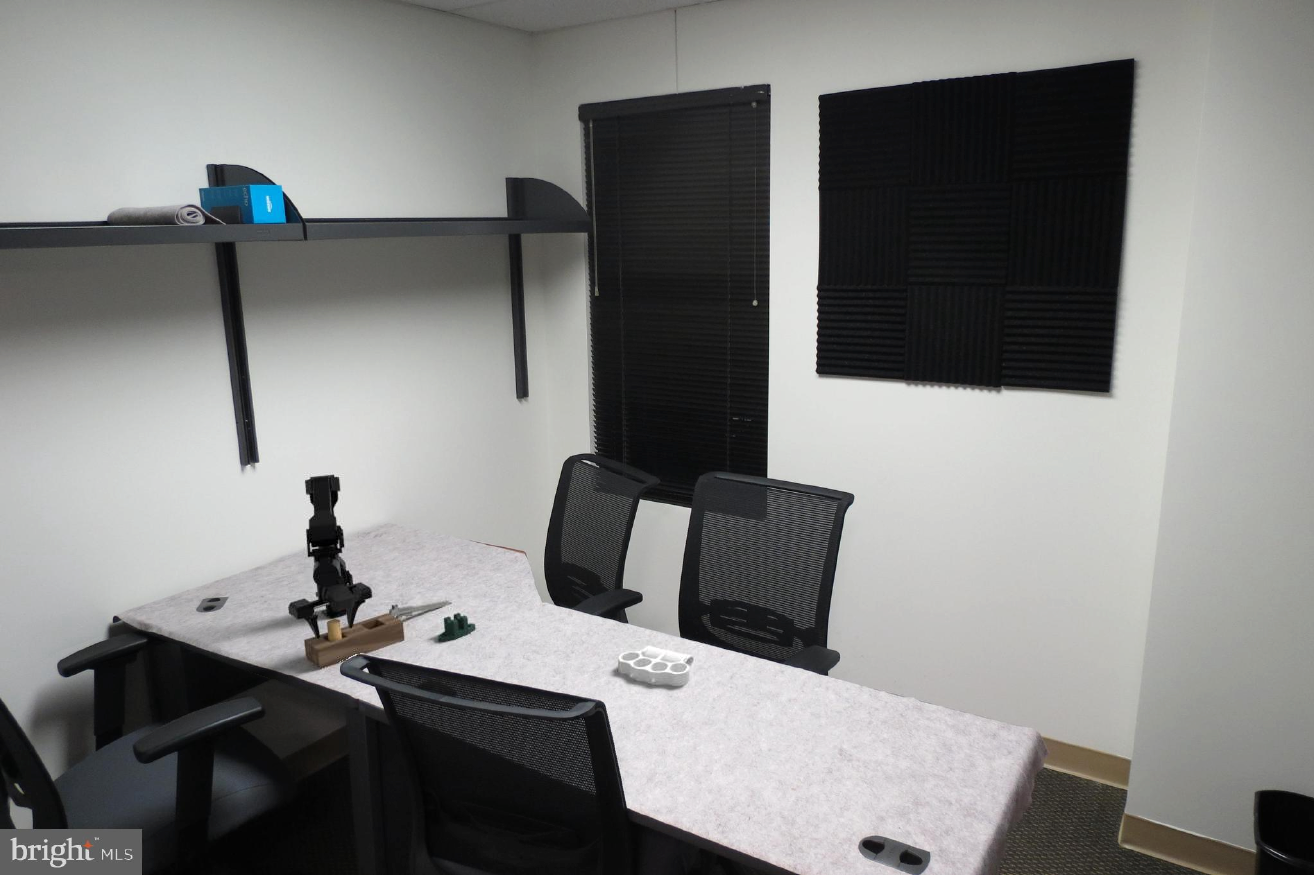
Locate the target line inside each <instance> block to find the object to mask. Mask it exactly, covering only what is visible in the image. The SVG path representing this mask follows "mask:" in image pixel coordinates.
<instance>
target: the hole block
mask: <svg viewBox="0 0 1314 875" xmlns="http://www.w3.org/2000/svg"><path fill="white" fill-rule="evenodd" d="M404 631H405V629H404V621H403V620H402V619H401V620H399V619H397V618H396V616H395V617H394V616H392V615H390V614H389V612H387V613H383V614H381V615H377V616H374V617H372V618H368V619H365V620H361V621H359V622H356V623H355V622H354V623H353V627H352V628H349V626H348V625H346V626H342V627H341V636H342V639H340V640H337V641H334V642H331V643H330V642H329V638H328V631H327V632H324V633H322V634H320V639H317V638H316V636H315V635H314V636H311V637H309V638H306V639H303V641H304V651H305V658H306V660H307V661H308V660H309V662H310V663H311V664H312V663H313V664H312V665H314V666H315V665H316V666H317V667H316V666H315V667H316V668H317V669H319V668H320V669H319V670H322V668H323V669H325V667H326V668H328V666H329V667H331V665H332V666H335V665H338V664H340V663H343V662H346V661H347V660H346V659H348V658H349V657H351V656H353V655H355V654H360V653H366V654H368V653H372V652H374V651H375V652H376V651H378V650H380V649H383V648H386V647H388V646H392V645H394V644H397V643H400V642H403V641H405V632H404ZM342 660H343V661H342ZM345 660H346V661H345ZM340 661H341V662H340ZM339 662H340V663H339Z"/></svg>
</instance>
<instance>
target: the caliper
mask: <svg viewBox="0 0 1314 875" xmlns="http://www.w3.org/2000/svg"><path fill="white" fill-rule="evenodd" d="M450 603H451V604H453V602H452V601H449V600H447V599H444V600H440V601H435V602H429V603H423V604H418V605H410V604H409V605H405V606H399V604H396V603H395V604H394V605H393V604H391V608H390V609H388V610H389V612H388V614H390V615H392V616H394V617H395V618H397V619H399V620H401V621H402V619H403V618H402V617H408V618H409V616H410V617H411V616H413V614H414V613H419V612H423V611H424V612H425V611H428V610H432V609H439V608H444V607H446V605H447V606H449V604H450ZM451 604H450V605H451ZM443 606H444V607H443Z"/></svg>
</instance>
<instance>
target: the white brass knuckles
mask: <svg viewBox="0 0 1314 875" xmlns="http://www.w3.org/2000/svg"><path fill="white" fill-rule="evenodd" d="M693 664H694V656H693V655H691V654H685V653H680V652H675V651H672V650H668V649H662V648H658V647H655V646H651V645H648V646H645V647H644V648H643V649H642V650H639V651H626V652H623V653H621V654H620V655H618V658H617V670H618V672H619V673H620V674H624V675H628V676H629V678H630V679H632V680H635V681H637V682H645V683H648V684H649V685H654V686H655V685H656V686H660V685H667V686H668V685H669V686H673V687H682V686H685V685H687V684H688V683H689V682H690V680H691V678H690V677H691V676H690V672H691V671H690V668H691V666H692V665H693Z"/></svg>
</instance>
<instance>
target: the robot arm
mask: <svg viewBox="0 0 1314 875" xmlns="http://www.w3.org/2000/svg"><path fill="white" fill-rule="evenodd" d="M304 486H305V495H306V496H309V501H310V504H311V505H312V506H313V516H311V517H310V518H309V519H308V528H306V529H305V534H306V535H305V536H306V549H307V558H313V568H312V569H313V571H312V579H313V582H314V583H315V584H316V591H315V597H316V598H317V599H314V600H312V601H309V600H308V599H306V598H302V599H297V600H294V601H291V602H290V603H289V604H288V607H287V608H288V609H287V610H288V614H289V615H290V616H292V617H294V618H295V619H297V620H304V621H306V622H307V624H308V625H309V628H310V629H311V631H312V632H313V635H314V637H315V636H316V638H317V639H320V635H321V634H320V632H321V631H320V628H319V622H318V620H319V615H318V614H316V613H315V611H316V610H315V609H319V608H322V607H325V608H324V609H322V610H321V613H322V614H323V615H325V616H327V618H330V619H334V618H335V619H336V618H338V617H341V616H344V615H346V621H347V626H349V628H352V627H353V624H355V619H356V616H357V612H358V610H359V608H360V606H361V605H362V604H365V603H366V601H367V600H369V599H372V598H373V590H372V588H371V587H370V586H369V585H366V584H365V583H363V582H361V581H359V582H357V583H354V579H353V577H354V576H353V574H352V573H351V572H350V570H349V569H347V562H346V561H345V560H344V559H343V558H342V557H341V555H340V554H343V549H345V536H344V529H343V528H342V526H341V524H339V525H338V522H337V516H335V507H336V505H337V503H338V501H339V492H341V481H340V477H339V476H335V474H324V475H316V476H315V475H314V476H309V479H305V480H304ZM311 548H312V549H311Z"/></svg>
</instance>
